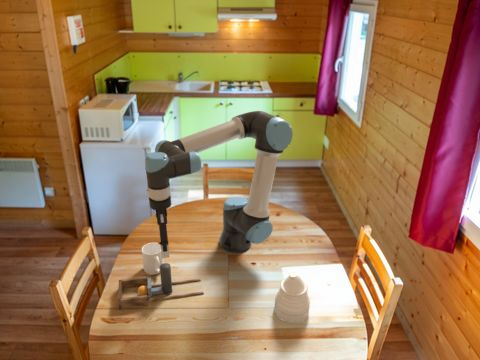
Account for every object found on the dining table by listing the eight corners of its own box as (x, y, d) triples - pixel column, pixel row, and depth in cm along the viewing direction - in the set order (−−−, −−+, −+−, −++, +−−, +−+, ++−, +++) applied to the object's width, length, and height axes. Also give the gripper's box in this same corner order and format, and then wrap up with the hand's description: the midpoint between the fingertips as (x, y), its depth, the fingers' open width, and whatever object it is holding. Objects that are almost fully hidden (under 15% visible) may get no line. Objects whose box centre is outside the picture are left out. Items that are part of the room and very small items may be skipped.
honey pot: (300, 328, 141) (304, 288, 133) (268, 313, 147) (270, 275, 139) (314, 306, 151) (318, 268, 143) (283, 293, 157) (286, 256, 149)
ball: (139, 282, 154) (136, 290, 156) (139, 289, 151) (136, 297, 152) (149, 284, 156) (146, 292, 157) (149, 290, 152) (146, 299, 153)
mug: (150, 282, 161) (148, 261, 157) (140, 266, 170) (138, 246, 166) (170, 275, 165) (168, 254, 161) (160, 260, 174) (158, 240, 170)
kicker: (171, 285, 160) (169, 261, 154) (172, 295, 154) (171, 270, 149) (148, 288, 158) (145, 264, 152) (148, 298, 152) (146, 273, 147)
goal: (148, 284, 160) (147, 276, 159) (149, 304, 150) (148, 296, 148) (120, 288, 158) (118, 280, 156) (118, 309, 147) (117, 301, 146)
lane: (200, 279, 163) (200, 278, 163) (203, 293, 156) (203, 292, 156) (148, 286, 159) (148, 285, 159) (148, 301, 151) (148, 300, 151)
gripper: (147, 181, 148) (152, 229, 158) (149, 215, 127) (155, 268, 136) (168, 179, 150) (171, 227, 159) (173, 212, 128) (177, 265, 137)
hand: (164, 246), depth 148 cm, fingers open, 13 cm apart
